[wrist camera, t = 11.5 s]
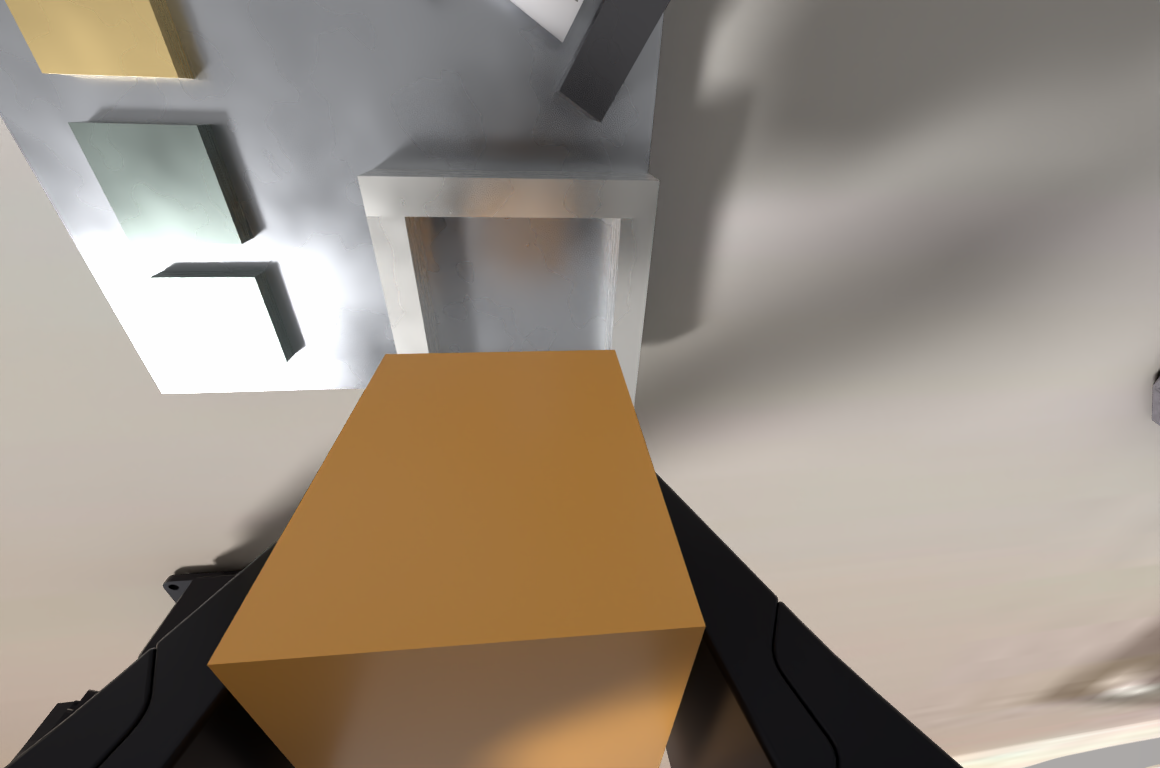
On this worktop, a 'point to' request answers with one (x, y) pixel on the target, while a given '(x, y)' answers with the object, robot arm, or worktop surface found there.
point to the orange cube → (474, 579)
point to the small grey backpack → (1156, 402)
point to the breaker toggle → (551, 14)
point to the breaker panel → (344, 177)
